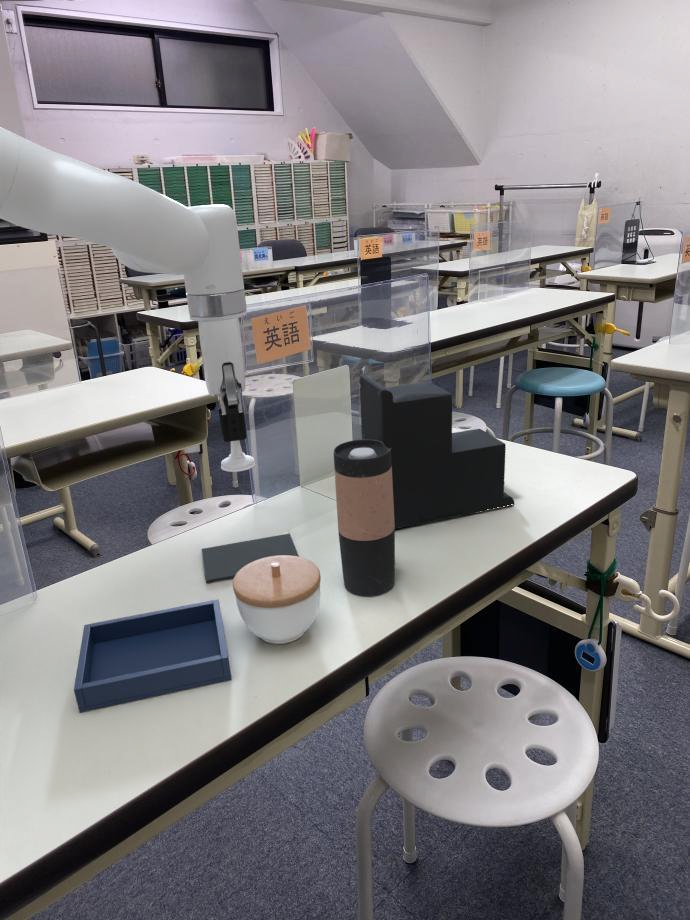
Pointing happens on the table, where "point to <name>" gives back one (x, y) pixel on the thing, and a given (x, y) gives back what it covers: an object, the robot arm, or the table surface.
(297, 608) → the trinket box
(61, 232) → the robot arm
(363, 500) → the travel mug
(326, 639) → the table surface
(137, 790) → the table surface
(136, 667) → the tray
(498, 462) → the bookend
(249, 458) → the chess piece
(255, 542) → the mat
